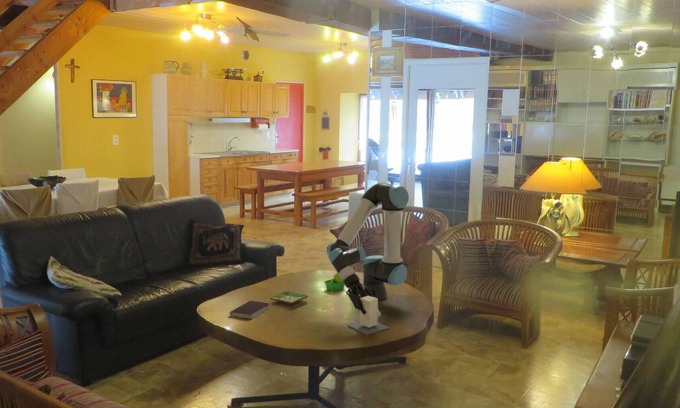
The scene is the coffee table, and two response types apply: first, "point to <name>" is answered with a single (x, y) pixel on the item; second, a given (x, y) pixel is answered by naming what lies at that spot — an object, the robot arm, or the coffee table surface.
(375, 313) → the cream block
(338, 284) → the fruit basket
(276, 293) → the coffee table surface
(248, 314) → the book
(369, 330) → the slate mat
